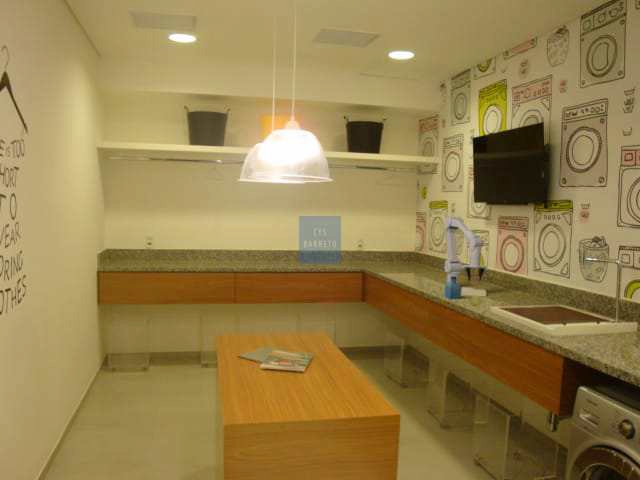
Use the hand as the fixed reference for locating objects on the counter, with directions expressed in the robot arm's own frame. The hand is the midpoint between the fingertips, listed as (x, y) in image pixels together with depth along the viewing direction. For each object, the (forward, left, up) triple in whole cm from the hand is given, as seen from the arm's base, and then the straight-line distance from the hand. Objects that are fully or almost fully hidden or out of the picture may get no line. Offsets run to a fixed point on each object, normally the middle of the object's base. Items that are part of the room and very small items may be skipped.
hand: (474, 281), depth 303 cm
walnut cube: (0, 0, -2) cm, 2 cm away
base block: (0, 0, -8) cm, 8 cm away
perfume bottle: (+18, -14, -8) cm, 24 cm away
